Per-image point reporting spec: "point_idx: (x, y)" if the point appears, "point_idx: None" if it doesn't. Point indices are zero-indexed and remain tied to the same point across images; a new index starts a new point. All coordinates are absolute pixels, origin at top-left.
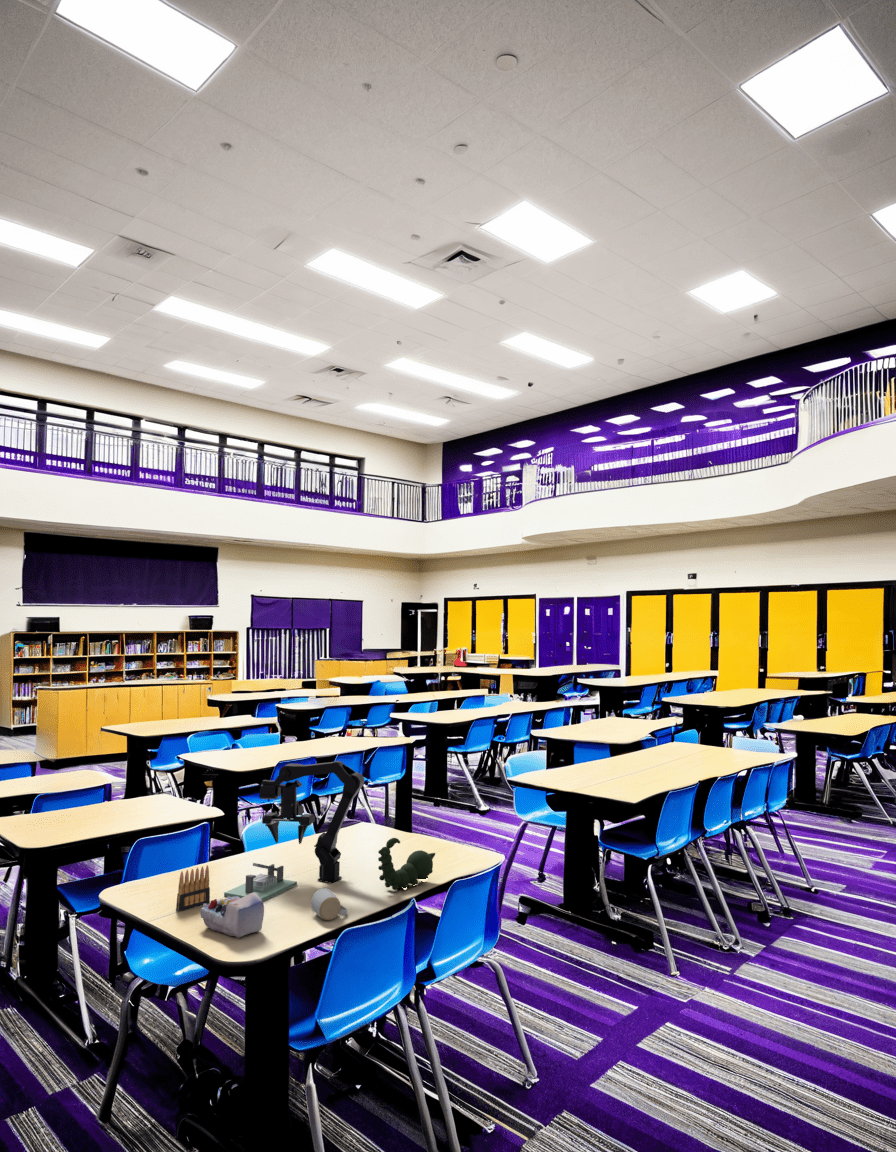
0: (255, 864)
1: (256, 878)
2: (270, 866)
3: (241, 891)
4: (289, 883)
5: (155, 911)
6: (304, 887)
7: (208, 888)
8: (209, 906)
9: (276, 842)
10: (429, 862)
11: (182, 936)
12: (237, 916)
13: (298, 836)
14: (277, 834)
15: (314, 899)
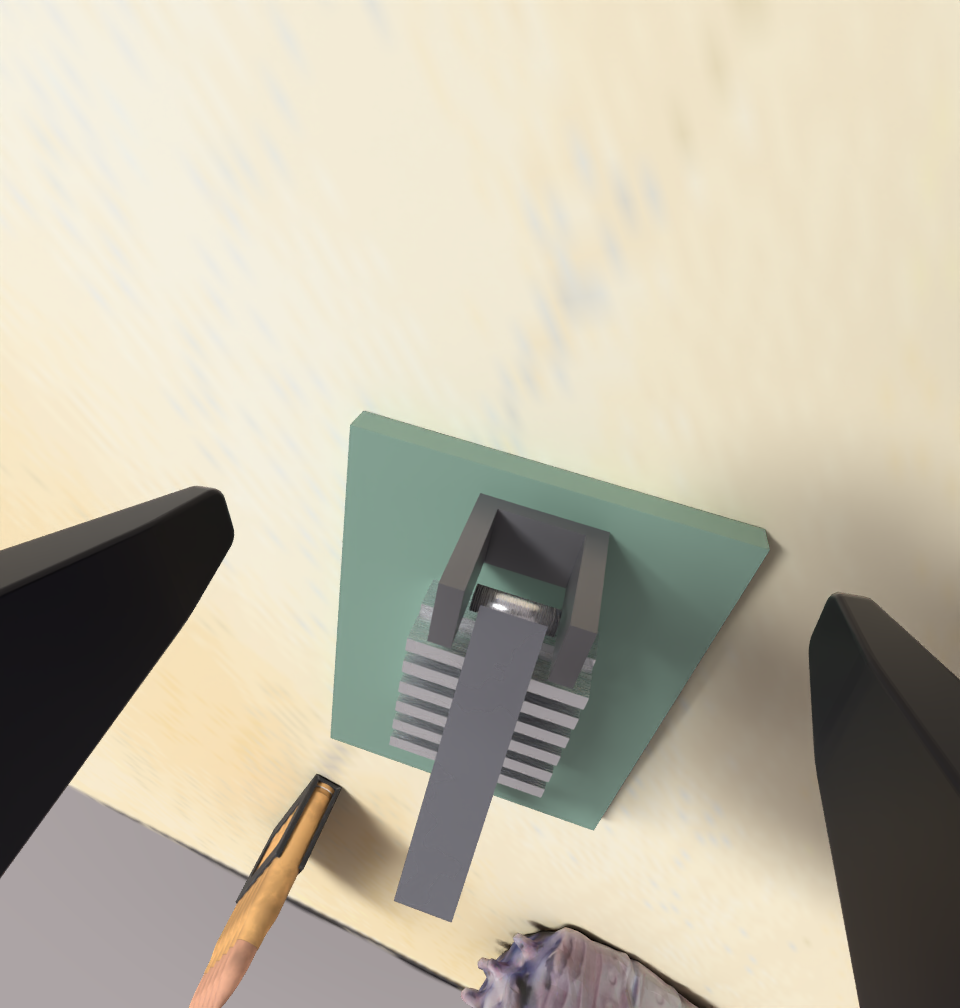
0: (424, 901)
1: (442, 724)
2: (453, 636)
3: None
4: (703, 600)
5: (214, 827)
6: (862, 578)
7: (303, 867)
8: None
9: (227, 549)
10: None
11: (463, 979)
12: None
13: (850, 920)
14: (71, 610)
15: None
